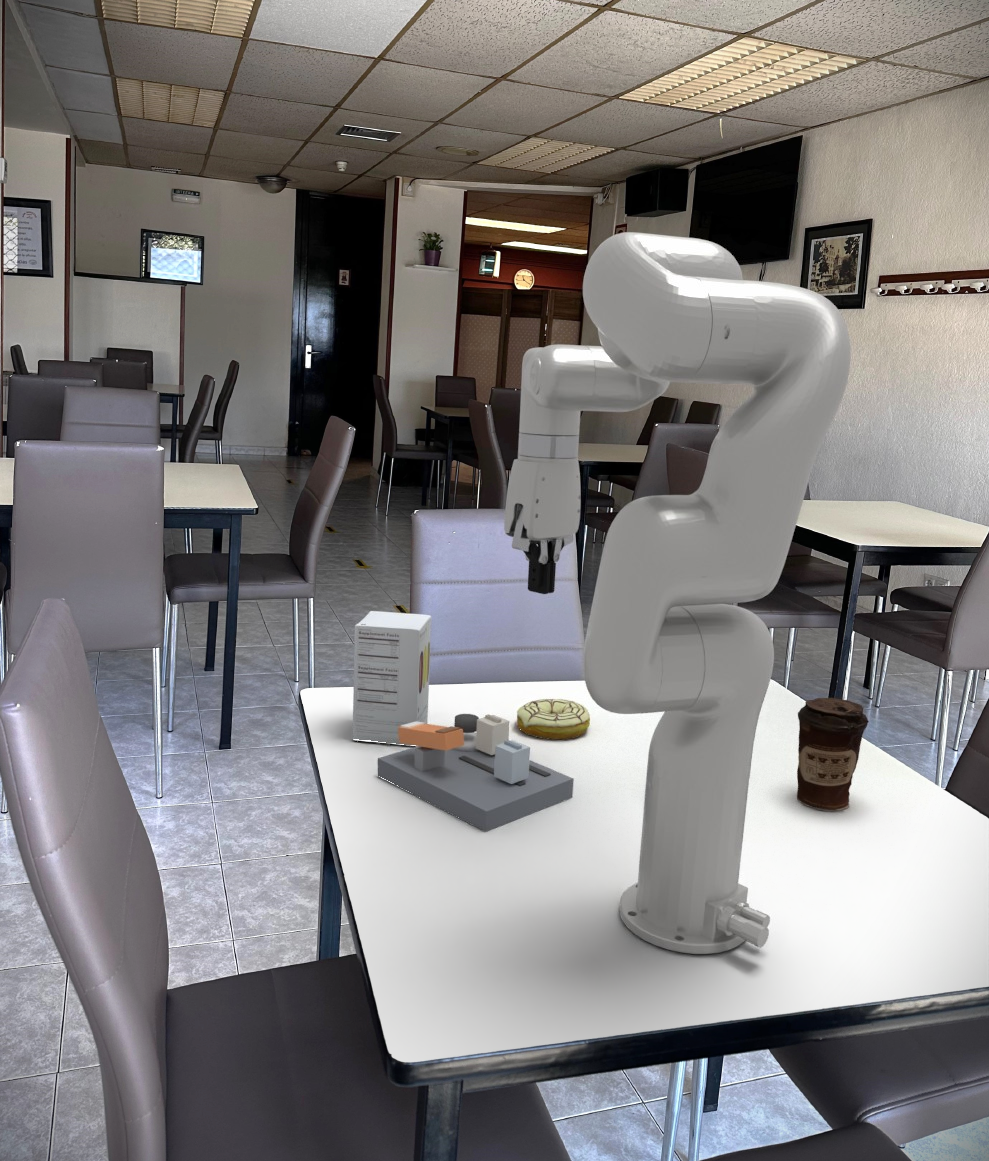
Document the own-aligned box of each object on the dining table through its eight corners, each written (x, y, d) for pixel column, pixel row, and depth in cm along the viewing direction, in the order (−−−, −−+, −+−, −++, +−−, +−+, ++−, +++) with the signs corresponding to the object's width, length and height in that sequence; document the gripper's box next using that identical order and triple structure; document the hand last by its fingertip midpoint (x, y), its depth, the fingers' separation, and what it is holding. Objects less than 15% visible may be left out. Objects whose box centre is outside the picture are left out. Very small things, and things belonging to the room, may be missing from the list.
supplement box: (416, 748, 140) (420, 630, 136) (351, 742, 141) (353, 625, 137) (428, 724, 149) (432, 613, 146) (367, 719, 150) (369, 609, 147)
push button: (483, 729, 135) (483, 718, 134) (465, 734, 132) (466, 723, 132) (467, 722, 137) (467, 712, 137) (449, 727, 135) (449, 717, 134)
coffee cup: (862, 821, 123) (875, 720, 121) (791, 812, 125) (802, 712, 122) (852, 793, 132) (864, 697, 129) (786, 785, 133) (796, 690, 131)
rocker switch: (464, 745, 125) (462, 727, 124) (446, 750, 123) (444, 732, 122) (417, 737, 131) (415, 720, 131) (399, 742, 129) (397, 725, 129)
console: (572, 797, 126) (574, 759, 125) (485, 831, 116) (487, 791, 115) (463, 749, 140) (465, 715, 139) (377, 776, 130) (378, 739, 129)
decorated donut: (514, 717, 155) (516, 693, 154) (584, 719, 155) (586, 696, 154) (517, 741, 145) (519, 716, 144) (592, 744, 145) (594, 719, 144)
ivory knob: (507, 750, 133) (509, 718, 132) (491, 755, 131) (493, 723, 130) (492, 743, 135) (493, 711, 134) (475, 748, 133) (477, 716, 132)
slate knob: (528, 778, 124) (530, 744, 123) (511, 784, 122) (513, 749, 121) (511, 770, 126) (512, 737, 125) (493, 776, 124) (495, 742, 123)
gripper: (563, 445, 135) (555, 580, 139) (485, 447, 124) (479, 594, 128) (608, 449, 130) (599, 589, 134) (531, 452, 119) (524, 605, 123)
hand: (540, 591), depth 131 cm, fingers closed
